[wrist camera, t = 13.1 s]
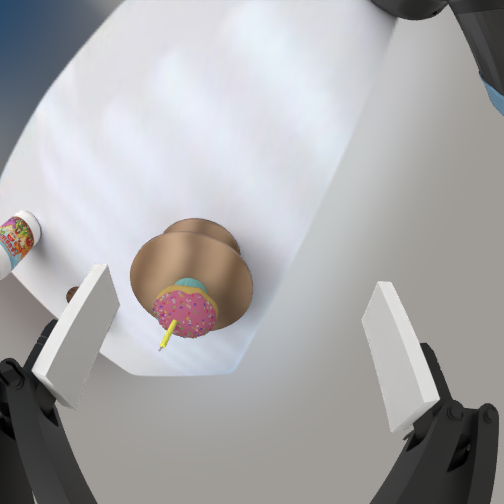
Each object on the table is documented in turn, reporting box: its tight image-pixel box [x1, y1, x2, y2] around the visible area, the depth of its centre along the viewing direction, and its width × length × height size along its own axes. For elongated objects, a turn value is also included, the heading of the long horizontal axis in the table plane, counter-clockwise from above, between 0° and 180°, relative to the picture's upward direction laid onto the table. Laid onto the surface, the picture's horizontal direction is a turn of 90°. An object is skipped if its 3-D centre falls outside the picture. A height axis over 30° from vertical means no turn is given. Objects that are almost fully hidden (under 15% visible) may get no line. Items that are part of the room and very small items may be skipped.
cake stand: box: [130, 218, 253, 331], centre depth 44 cm, size 18×18×9 cm
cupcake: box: [152, 278, 218, 351], centre depth 35 cm, size 9×8×12 cm
